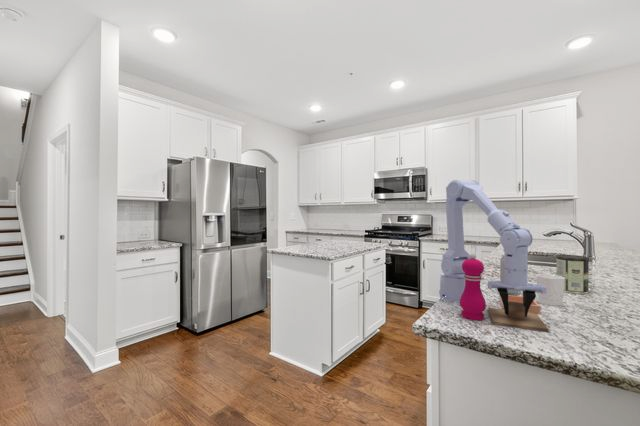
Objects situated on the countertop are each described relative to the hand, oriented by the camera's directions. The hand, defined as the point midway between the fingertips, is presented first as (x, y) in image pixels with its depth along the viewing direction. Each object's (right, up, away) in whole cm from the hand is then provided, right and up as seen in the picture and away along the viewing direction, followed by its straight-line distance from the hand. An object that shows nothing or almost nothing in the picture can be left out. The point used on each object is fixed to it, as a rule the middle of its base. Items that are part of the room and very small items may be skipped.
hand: (515, 314), depth 89 cm
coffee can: (+45, -2, +33) cm, 56 cm away
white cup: (+23, -2, +16) cm, 28 cm away
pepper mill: (-11, -2, +3) cm, 12 cm away
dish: (+9, -2, +11) cm, 14 cm away
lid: (0, -2, 0) cm, 2 cm away
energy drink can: (+17, -2, +30) cm, 34 cm away
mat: (0, -2, 0) cm, 2 cm away
